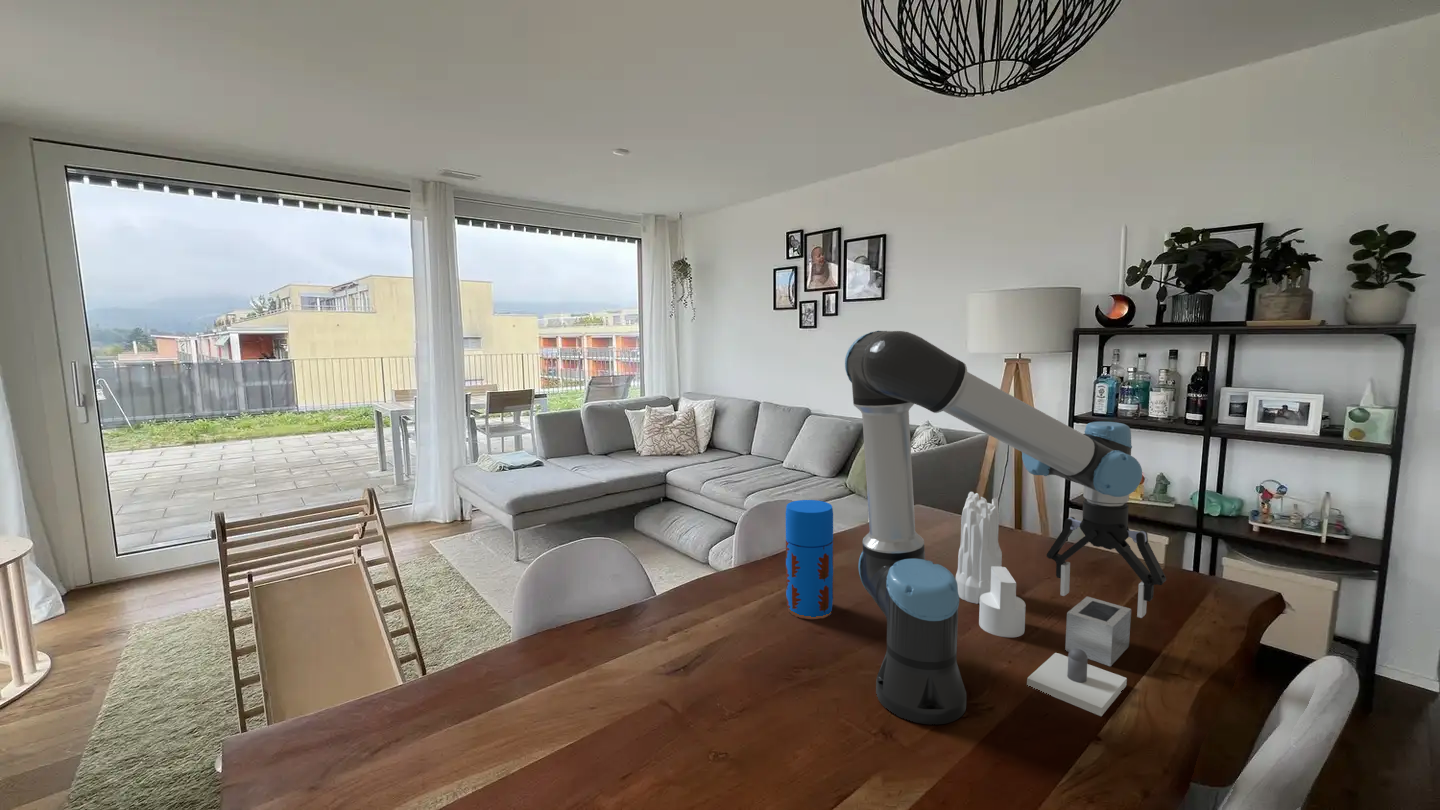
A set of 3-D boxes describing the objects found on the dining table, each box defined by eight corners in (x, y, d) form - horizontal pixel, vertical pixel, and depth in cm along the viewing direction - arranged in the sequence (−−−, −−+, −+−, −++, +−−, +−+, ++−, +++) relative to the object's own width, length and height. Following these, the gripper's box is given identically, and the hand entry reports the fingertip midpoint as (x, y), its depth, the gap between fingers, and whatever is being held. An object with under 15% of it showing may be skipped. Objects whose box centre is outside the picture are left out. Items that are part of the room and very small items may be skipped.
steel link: (1110, 666, 115) (1112, 626, 114) (1065, 650, 121) (1067, 612, 120) (1128, 646, 122) (1131, 608, 121) (1085, 632, 128) (1087, 596, 127)
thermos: (831, 600, 146) (831, 499, 143) (835, 620, 136) (835, 513, 133) (786, 599, 147) (785, 499, 144) (786, 619, 137) (785, 512, 134)
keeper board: (1101, 716, 101) (1103, 677, 100) (1026, 685, 110) (1028, 649, 109) (1126, 685, 109) (1128, 649, 108) (1055, 659, 118) (1056, 625, 117)
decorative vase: (1010, 604, 142) (1014, 501, 139) (965, 605, 142) (968, 501, 139) (991, 585, 153) (994, 489, 150) (948, 585, 153) (951, 489, 150)
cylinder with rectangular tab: (1030, 639, 126) (1032, 584, 125) (984, 635, 128) (985, 581, 126) (1017, 619, 135) (1019, 567, 133) (975, 616, 137) (976, 565, 135)
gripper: (1189, 509, 111) (1183, 618, 114) (1045, 486, 130) (1043, 580, 133) (1178, 518, 106) (1172, 632, 109) (1031, 493, 125) (1028, 591, 128)
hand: (1101, 604), depth 121 cm, fingers open, 13 cm apart
